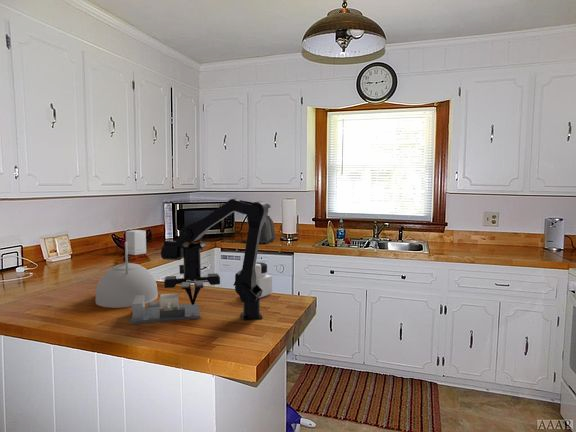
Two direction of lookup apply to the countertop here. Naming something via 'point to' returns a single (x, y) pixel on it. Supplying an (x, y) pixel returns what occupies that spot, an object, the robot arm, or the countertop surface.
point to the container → (263, 279)
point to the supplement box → (136, 242)
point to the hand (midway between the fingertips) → (192, 304)
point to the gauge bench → (156, 314)
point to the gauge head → (166, 301)
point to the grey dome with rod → (125, 285)
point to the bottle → (267, 230)
